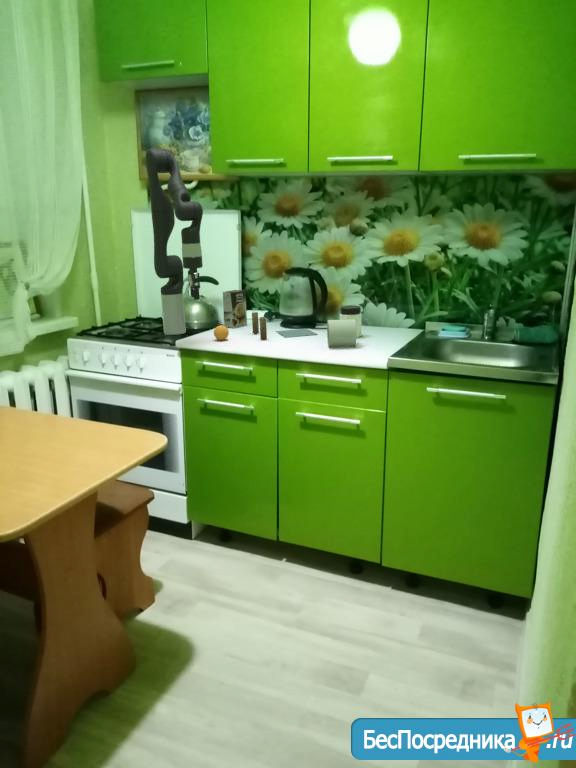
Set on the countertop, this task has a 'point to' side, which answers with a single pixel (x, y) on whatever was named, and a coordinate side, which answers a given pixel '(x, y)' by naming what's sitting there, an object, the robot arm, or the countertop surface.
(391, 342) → the countertop surface
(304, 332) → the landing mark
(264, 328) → the post
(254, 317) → the post
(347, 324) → the toilet paper
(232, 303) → the coffee box
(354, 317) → the jar
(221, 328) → the ball
